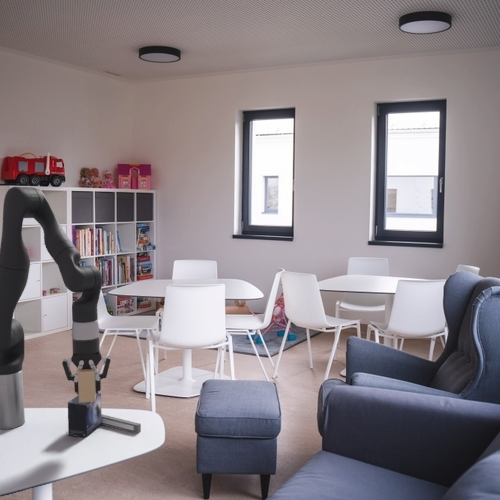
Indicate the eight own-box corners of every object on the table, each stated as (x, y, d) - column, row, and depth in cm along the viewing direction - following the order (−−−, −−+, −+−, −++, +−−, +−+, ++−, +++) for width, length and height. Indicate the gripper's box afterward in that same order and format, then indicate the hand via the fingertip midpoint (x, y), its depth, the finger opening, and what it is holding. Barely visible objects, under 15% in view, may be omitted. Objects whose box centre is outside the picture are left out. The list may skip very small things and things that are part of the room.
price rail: (83, 419, 211) (83, 412, 211) (86, 418, 212) (86, 410, 212) (137, 433, 200) (137, 425, 200) (140, 431, 202) (140, 423, 201)
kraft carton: (79, 402, 188) (77, 372, 187) (80, 394, 194) (79, 365, 193) (95, 401, 189) (94, 371, 187) (96, 393, 195) (95, 364, 194)
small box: (87, 438, 197) (86, 404, 196) (67, 436, 199) (66, 402, 197) (103, 424, 207) (102, 392, 206) (84, 422, 209) (83, 390, 207)
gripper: (111, 331, 194) (113, 387, 196) (61, 333, 191) (63, 390, 194) (111, 337, 187) (112, 395, 189) (58, 340, 184) (61, 399, 186)
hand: (87, 392), depth 191 cm, fingers closed on kraft carton, 4 cm apart
